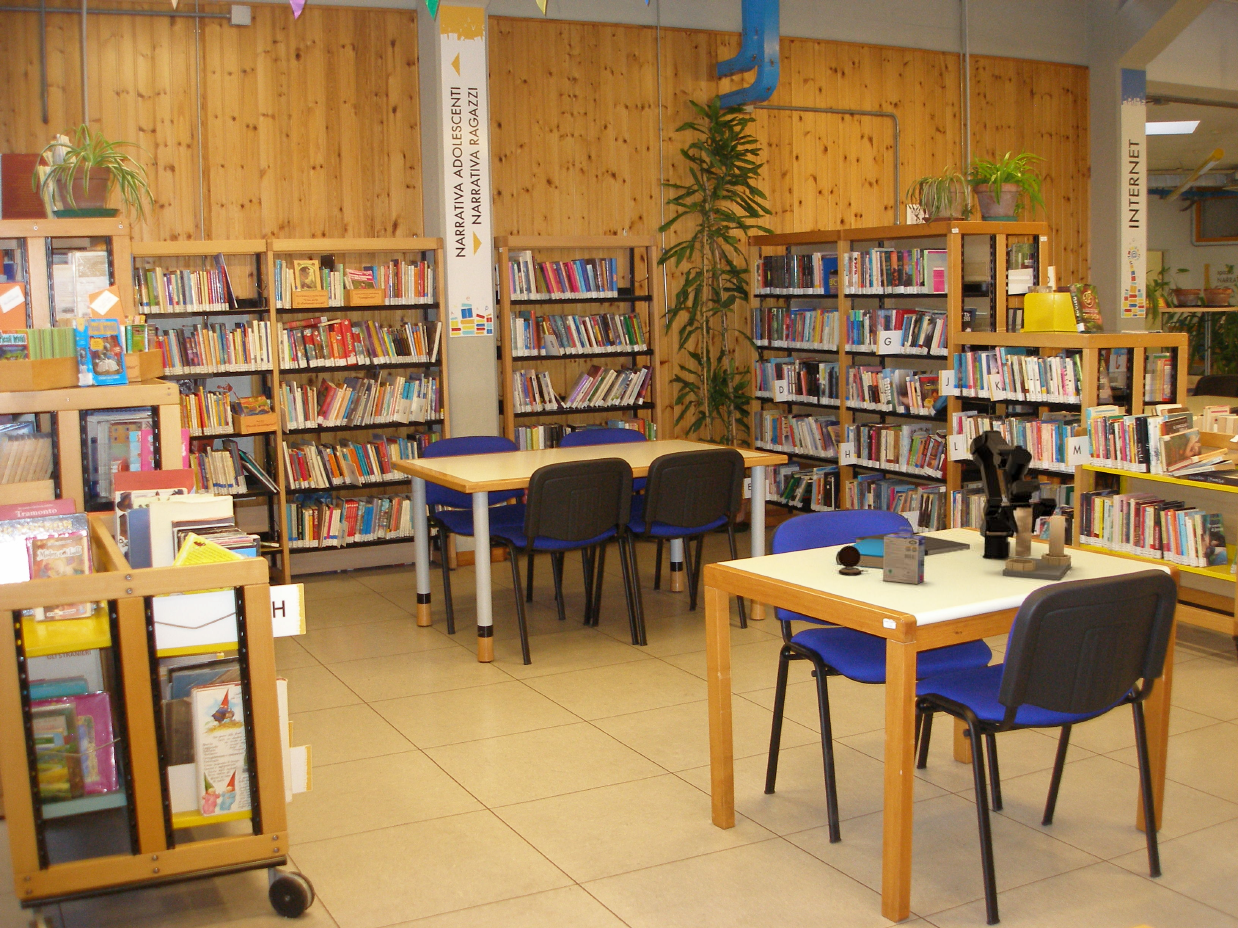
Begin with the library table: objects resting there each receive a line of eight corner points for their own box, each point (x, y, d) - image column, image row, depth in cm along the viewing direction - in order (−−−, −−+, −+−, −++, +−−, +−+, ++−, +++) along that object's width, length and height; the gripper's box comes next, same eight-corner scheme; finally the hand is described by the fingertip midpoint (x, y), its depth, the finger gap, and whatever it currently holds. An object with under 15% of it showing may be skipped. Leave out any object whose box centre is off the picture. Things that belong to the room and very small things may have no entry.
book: (920, 542, 350) (894, 555, 328) (919, 556, 350) (893, 570, 329) (864, 538, 358) (835, 550, 337) (864, 551, 359) (835, 564, 337)
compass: (839, 575, 322) (839, 549, 321) (837, 570, 329) (838, 544, 329) (869, 576, 321) (869, 550, 320) (867, 570, 328) (867, 544, 328)
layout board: (1002, 575, 320) (1004, 523, 318) (1017, 561, 338) (1019, 512, 337) (1059, 580, 312) (1061, 526, 311) (1071, 566, 331) (1073, 515, 330)
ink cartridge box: (925, 581, 314) (926, 527, 312) (918, 584, 309) (919, 530, 307) (889, 577, 319) (890, 524, 317) (882, 581, 314) (883, 527, 313)
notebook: (969, 551, 359) (902, 538, 383) (970, 543, 359) (902, 531, 383) (919, 558, 348) (853, 544, 371) (919, 551, 348) (853, 537, 371)
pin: (1013, 556, 319) (1015, 508, 317) (1016, 553, 322) (1018, 506, 320) (1029, 557, 317) (1031, 510, 315) (1031, 554, 320) (1033, 507, 318)
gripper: (987, 468, 321) (996, 515, 311) (1056, 468, 320) (1068, 515, 310) (978, 492, 330) (987, 539, 320) (1046, 492, 329) (1057, 538, 319)
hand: (1025, 532), depth 317 cm, fingers closed on pin, 4 cm apart
